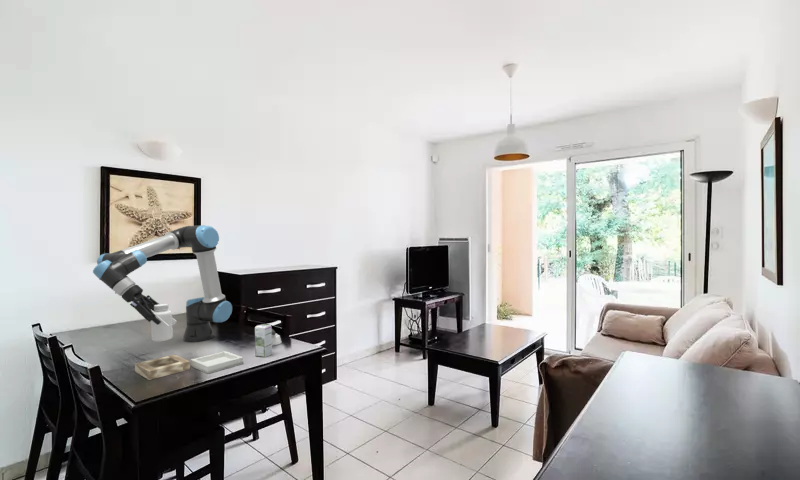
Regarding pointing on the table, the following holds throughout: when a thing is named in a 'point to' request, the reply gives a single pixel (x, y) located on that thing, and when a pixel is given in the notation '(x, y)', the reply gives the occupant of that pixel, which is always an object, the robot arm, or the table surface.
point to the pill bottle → (166, 316)
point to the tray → (216, 362)
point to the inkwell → (275, 338)
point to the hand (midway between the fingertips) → (170, 325)
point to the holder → (162, 366)
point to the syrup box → (263, 340)
